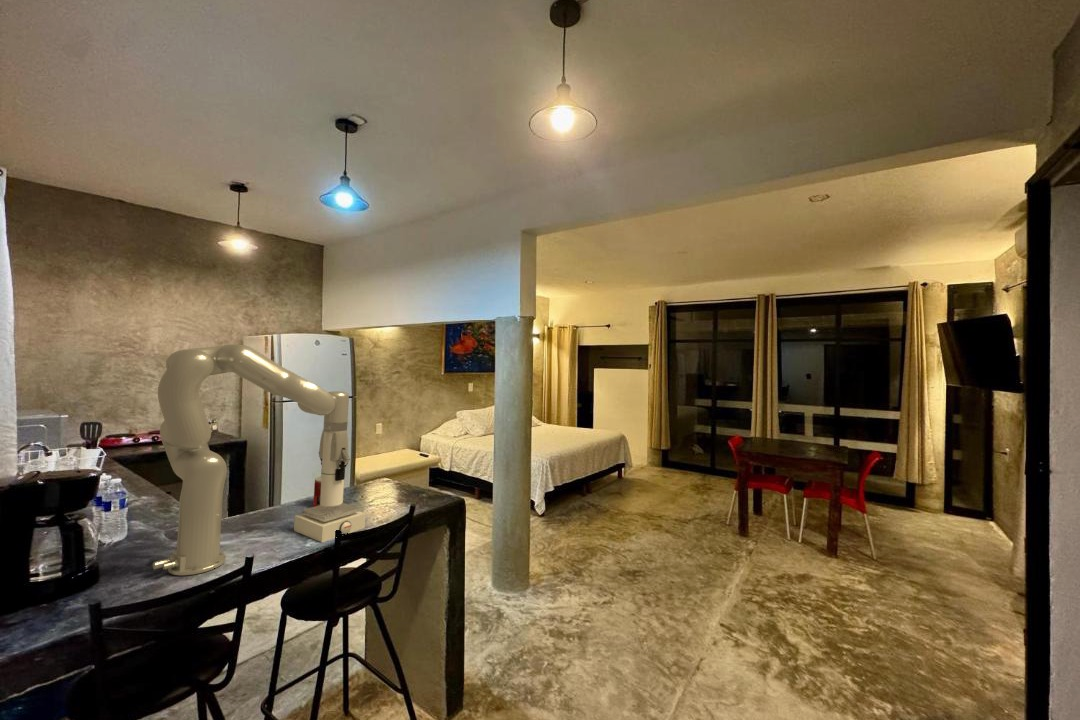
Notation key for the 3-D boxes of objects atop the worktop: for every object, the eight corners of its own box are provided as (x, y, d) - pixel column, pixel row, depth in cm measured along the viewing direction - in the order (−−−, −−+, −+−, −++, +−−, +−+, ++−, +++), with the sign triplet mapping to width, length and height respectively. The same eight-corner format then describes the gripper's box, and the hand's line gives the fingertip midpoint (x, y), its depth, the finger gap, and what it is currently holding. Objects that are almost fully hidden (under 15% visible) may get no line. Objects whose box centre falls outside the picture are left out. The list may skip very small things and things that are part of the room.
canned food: (315, 510, 168) (317, 481, 168) (311, 504, 174) (312, 477, 174) (336, 506, 173) (338, 479, 173) (331, 501, 179) (333, 474, 179)
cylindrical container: (347, 502, 151) (351, 431, 152) (328, 507, 145) (332, 433, 146) (334, 498, 155) (338, 428, 155) (315, 503, 149) (319, 430, 149)
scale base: (323, 543, 138) (324, 527, 138) (294, 530, 147) (294, 516, 147) (366, 528, 152) (367, 514, 152) (337, 517, 161) (337, 504, 161)
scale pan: (324, 521, 141) (324, 518, 141) (301, 513, 148) (302, 509, 148) (359, 511, 152) (359, 508, 152) (336, 504, 159) (336, 500, 159)
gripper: (310, 425, 152) (307, 475, 151) (341, 431, 143) (338, 484, 142) (330, 423, 158) (327, 472, 158) (360, 428, 149) (358, 480, 149)
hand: (332, 477), depth 150 cm, fingers closed on cylindrical container, 7 cm apart
